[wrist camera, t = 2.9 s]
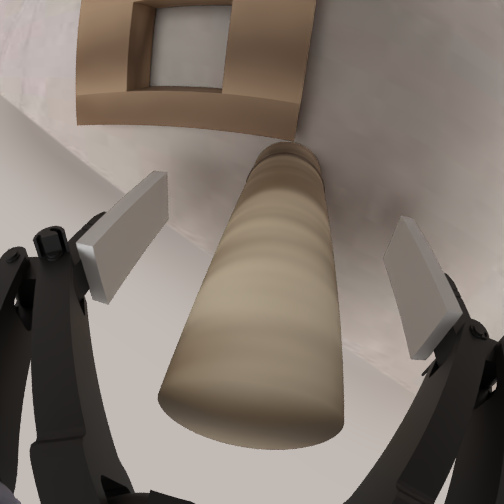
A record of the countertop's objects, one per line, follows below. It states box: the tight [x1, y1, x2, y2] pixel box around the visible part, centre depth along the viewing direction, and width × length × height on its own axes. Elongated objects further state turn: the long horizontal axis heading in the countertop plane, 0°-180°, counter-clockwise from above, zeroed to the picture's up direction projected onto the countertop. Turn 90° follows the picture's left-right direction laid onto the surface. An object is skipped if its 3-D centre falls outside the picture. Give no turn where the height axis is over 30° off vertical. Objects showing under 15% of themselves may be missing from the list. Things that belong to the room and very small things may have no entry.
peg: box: [158, 142, 344, 450], centre depth 12 cm, size 4×4×16 cm
